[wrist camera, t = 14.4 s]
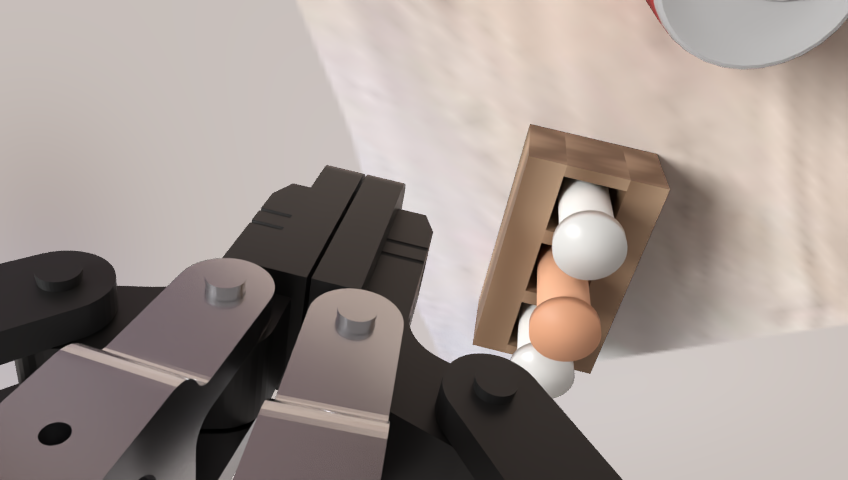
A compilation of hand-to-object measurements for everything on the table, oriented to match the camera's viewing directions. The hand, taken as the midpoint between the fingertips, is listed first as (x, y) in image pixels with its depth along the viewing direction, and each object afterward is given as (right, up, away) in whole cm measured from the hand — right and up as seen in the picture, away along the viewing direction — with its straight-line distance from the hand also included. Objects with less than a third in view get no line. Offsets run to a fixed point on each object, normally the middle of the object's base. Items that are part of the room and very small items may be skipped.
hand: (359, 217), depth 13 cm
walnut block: (+10, 0, +32) cm, 34 cm away
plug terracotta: (+10, -1, +30) cm, 32 cm away
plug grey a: (+10, -4, +34) cm, 36 cm away
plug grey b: (+11, +3, +29) cm, 32 cm away
